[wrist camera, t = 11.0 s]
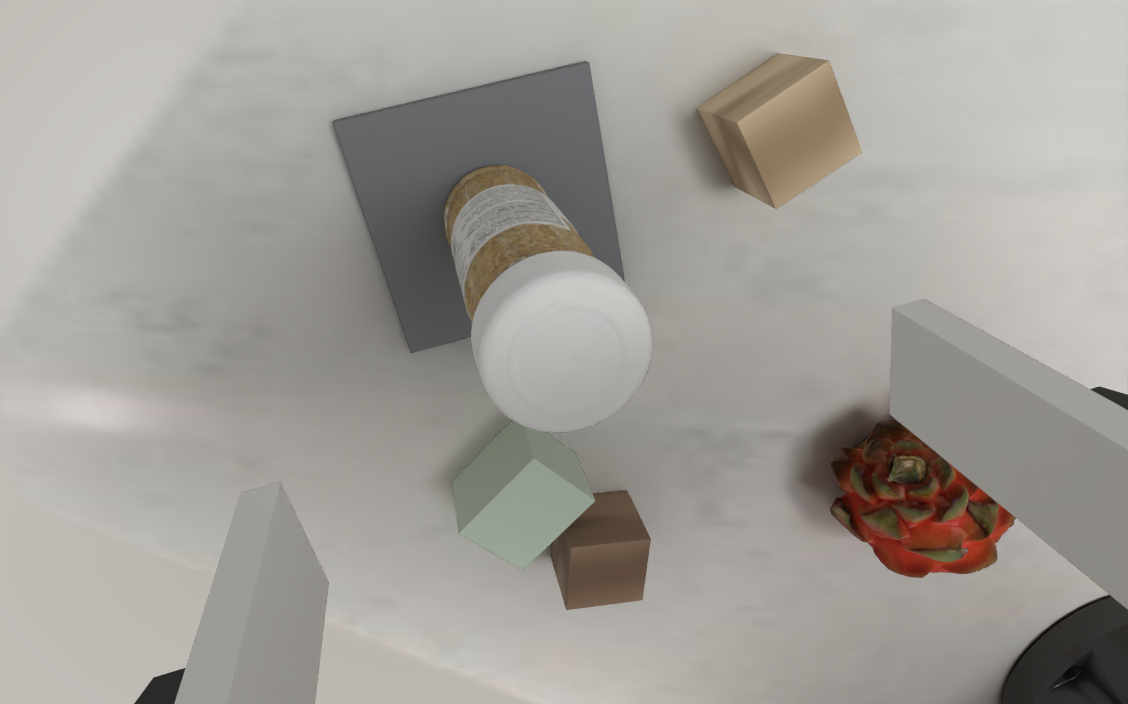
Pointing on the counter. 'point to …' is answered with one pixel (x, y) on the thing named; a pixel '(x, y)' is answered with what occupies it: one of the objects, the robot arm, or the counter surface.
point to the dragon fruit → (915, 506)
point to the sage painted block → (520, 494)
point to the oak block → (781, 128)
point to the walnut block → (602, 554)
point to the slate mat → (453, 150)
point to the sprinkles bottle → (542, 306)
